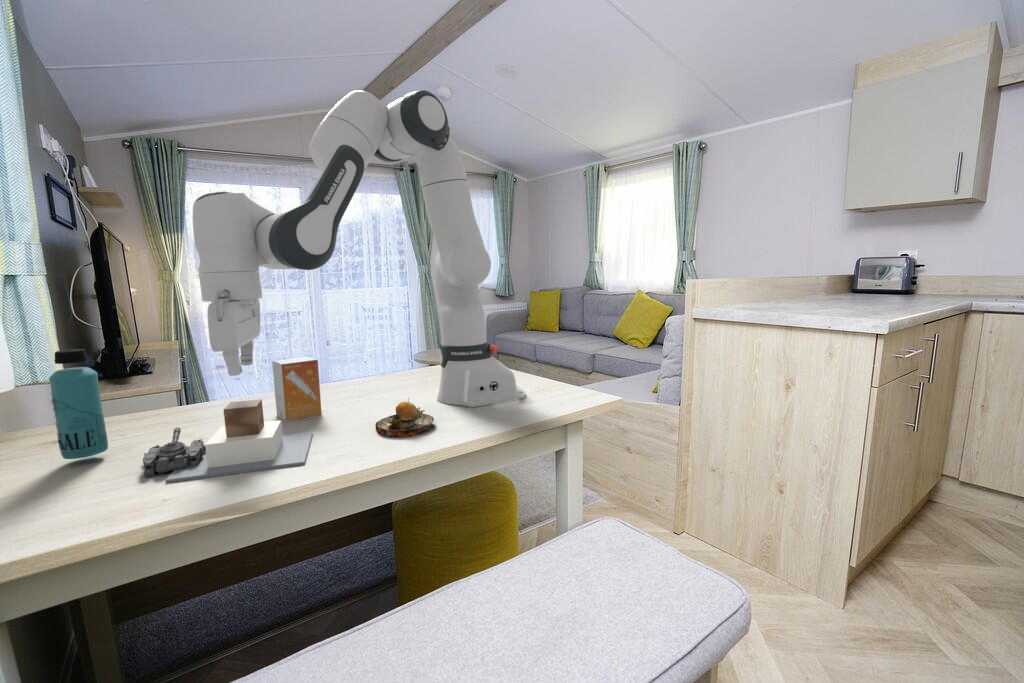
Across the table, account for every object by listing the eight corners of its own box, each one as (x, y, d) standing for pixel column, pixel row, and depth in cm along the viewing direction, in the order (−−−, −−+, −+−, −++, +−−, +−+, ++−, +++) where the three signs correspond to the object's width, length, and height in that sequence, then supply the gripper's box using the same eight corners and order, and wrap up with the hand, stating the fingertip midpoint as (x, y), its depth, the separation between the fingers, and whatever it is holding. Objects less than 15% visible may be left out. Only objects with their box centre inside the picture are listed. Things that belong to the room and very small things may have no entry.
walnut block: (264, 425, 87) (261, 399, 86) (259, 434, 82) (256, 406, 81) (233, 428, 85) (230, 402, 84) (226, 437, 80) (223, 409, 80)
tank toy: (149, 459, 85) (145, 431, 84) (211, 449, 89) (208, 422, 89) (136, 484, 74) (131, 452, 74) (206, 470, 79) (203, 441, 78)
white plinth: (283, 440, 90) (281, 420, 90) (274, 459, 81) (272, 437, 80) (223, 447, 87) (221, 426, 87) (207, 467, 78) (205, 444, 77)
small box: (286, 422, 103) (280, 364, 102) (276, 416, 108) (271, 360, 106) (322, 414, 109) (318, 358, 107) (312, 409, 114) (307, 355, 112)
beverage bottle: (102, 451, 88) (86, 345, 85) (117, 457, 84) (101, 347, 82) (55, 463, 82) (36, 350, 79) (70, 471, 79) (51, 353, 76)
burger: (433, 418, 105) (431, 385, 104) (436, 435, 94) (434, 399, 92) (377, 423, 102) (375, 389, 101) (373, 441, 91) (371, 404, 90)
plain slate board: (312, 434, 95) (312, 432, 95) (304, 464, 80) (304, 461, 80) (197, 448, 89) (197, 445, 88) (165, 482, 73) (165, 479, 73)
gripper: (239, 290, 71) (250, 379, 73) (263, 287, 90) (271, 358, 92) (190, 292, 69) (203, 384, 71) (225, 289, 88) (234, 361, 90)
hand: (241, 369), depth 82 cm, fingers open, 8 cm apart
